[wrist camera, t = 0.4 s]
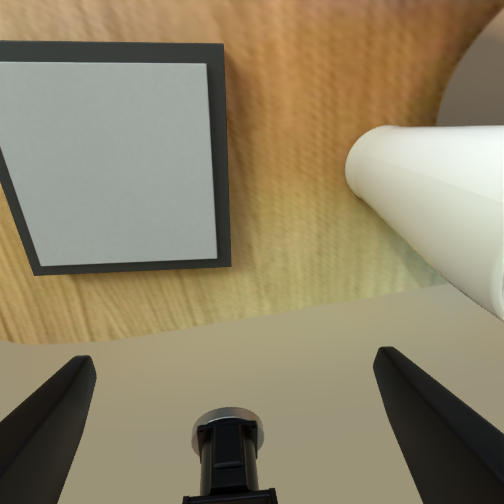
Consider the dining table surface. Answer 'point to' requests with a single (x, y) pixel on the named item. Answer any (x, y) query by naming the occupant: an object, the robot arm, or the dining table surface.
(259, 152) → the dining table surface
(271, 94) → the dining table surface
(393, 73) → the dining table surface
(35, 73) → the scale
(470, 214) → the white cup
